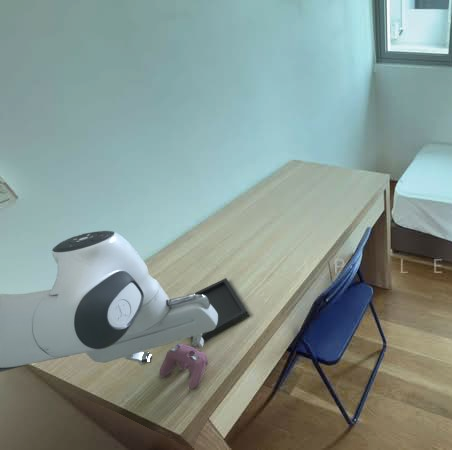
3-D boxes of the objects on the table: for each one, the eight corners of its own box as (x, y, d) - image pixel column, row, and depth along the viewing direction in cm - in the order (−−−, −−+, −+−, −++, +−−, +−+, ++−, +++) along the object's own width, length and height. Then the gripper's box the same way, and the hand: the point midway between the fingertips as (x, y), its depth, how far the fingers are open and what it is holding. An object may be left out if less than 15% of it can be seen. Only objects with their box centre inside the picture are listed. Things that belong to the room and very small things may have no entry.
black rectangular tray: (196, 346, 72) (192, 341, 71) (180, 306, 82) (176, 301, 81) (249, 316, 78) (247, 311, 77) (228, 282, 89) (226, 277, 88)
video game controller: (211, 378, 67) (212, 349, 66) (191, 392, 62) (192, 360, 61) (178, 365, 70) (178, 337, 68) (157, 377, 65) (156, 347, 64)
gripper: (205, 280, 60) (230, 324, 68) (78, 312, 55) (121, 357, 63) (200, 303, 56) (228, 348, 63) (60, 341, 50) (110, 385, 58)
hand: (174, 353), depth 63 cm, fingers open, 8 cm apart
